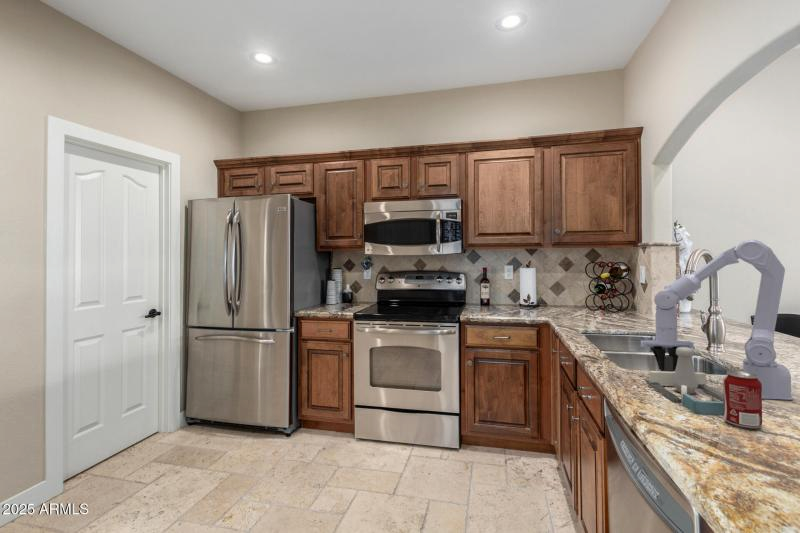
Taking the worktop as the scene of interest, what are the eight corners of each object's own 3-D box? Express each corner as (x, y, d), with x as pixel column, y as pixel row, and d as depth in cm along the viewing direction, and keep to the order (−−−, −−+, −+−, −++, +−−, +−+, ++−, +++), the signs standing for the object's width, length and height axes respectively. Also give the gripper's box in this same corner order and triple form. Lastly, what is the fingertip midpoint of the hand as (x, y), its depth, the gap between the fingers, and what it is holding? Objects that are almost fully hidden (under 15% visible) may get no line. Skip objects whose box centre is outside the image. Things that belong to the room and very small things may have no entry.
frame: (732, 405, 102) (732, 387, 102) (751, 416, 95) (750, 396, 95) (680, 403, 105) (680, 385, 104) (695, 413, 98) (695, 394, 98)
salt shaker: (702, 395, 110) (701, 350, 110) (679, 394, 111) (678, 349, 111) (691, 389, 116) (690, 345, 116) (669, 388, 117) (669, 345, 117)
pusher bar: (690, 378, 124) (690, 355, 124) (706, 387, 116) (705, 362, 116) (639, 377, 127) (639, 354, 127) (651, 385, 119) (650, 360, 119)
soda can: (765, 433, 86) (765, 379, 86) (726, 426, 90) (725, 375, 90) (758, 422, 92) (757, 371, 92) (721, 416, 95) (720, 368, 95)
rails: (700, 385, 119) (700, 382, 119) (737, 405, 102) (737, 401, 102) (646, 383, 122) (646, 380, 122) (673, 402, 105) (673, 399, 105)
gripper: (685, 326, 127) (685, 367, 127) (636, 325, 130) (637, 366, 130) (697, 329, 120) (697, 373, 120) (645, 329, 123) (646, 371, 123)
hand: (666, 370), depth 124 cm, fingers closed on pusher bar, 2 cm apart
